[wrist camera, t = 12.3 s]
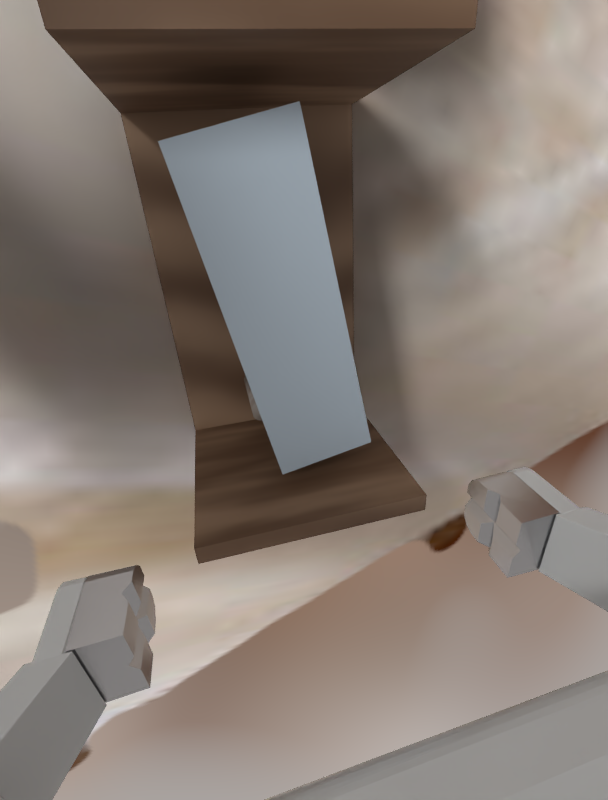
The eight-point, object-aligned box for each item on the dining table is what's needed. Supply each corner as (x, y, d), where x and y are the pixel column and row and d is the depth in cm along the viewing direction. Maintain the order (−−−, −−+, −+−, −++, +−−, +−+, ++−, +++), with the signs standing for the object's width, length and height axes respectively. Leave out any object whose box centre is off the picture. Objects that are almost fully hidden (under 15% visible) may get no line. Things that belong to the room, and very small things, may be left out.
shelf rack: (118, 92, 23) (28, -29, 11) (345, 85, 25) (480, -19, 13) (198, 434, 34) (198, 563, 22) (349, 407, 37) (424, 509, 25)
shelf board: (165, 151, 19) (157, 141, 16) (281, 118, 20) (299, 101, 16) (272, 440, 28) (282, 474, 24) (350, 412, 28) (371, 442, 25)
